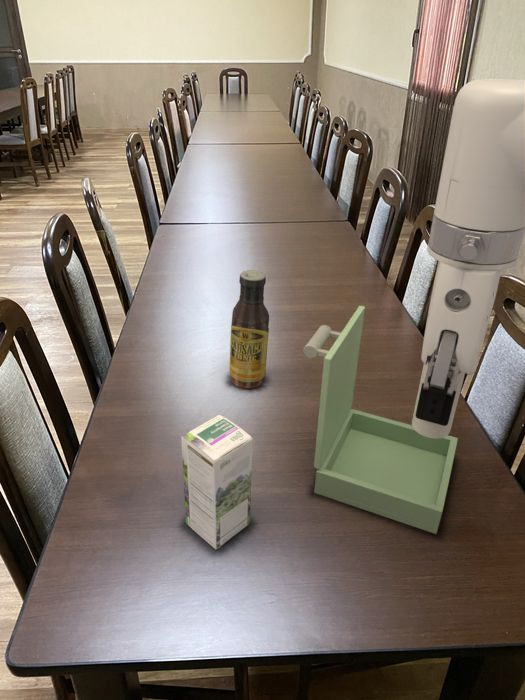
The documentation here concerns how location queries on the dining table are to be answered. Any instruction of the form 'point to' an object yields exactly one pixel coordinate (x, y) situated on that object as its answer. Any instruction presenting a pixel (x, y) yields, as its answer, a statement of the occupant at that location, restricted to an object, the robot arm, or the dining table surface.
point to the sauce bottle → (249, 332)
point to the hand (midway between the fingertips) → (435, 406)
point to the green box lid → (335, 379)
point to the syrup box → (217, 479)
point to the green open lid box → (388, 470)
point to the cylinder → (428, 427)
